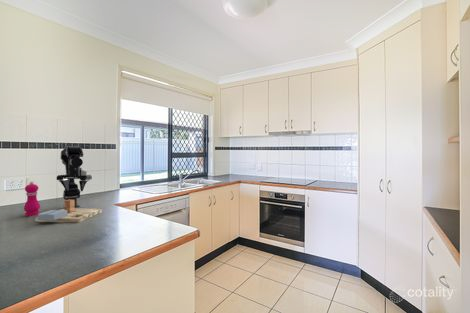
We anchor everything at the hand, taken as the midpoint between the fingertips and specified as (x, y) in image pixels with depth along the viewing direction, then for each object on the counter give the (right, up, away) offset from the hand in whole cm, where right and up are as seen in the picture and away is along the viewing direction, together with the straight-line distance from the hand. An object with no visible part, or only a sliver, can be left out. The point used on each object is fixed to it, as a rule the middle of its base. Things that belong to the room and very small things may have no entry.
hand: (74, 191), depth 142 cm
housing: (+1, -12, -19) cm, 22 cm away
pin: (+2, -13, -7) cm, 15 cm away
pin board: (+5, -13, -10) cm, 17 cm away
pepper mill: (-20, -13, -7) cm, 25 cm away
